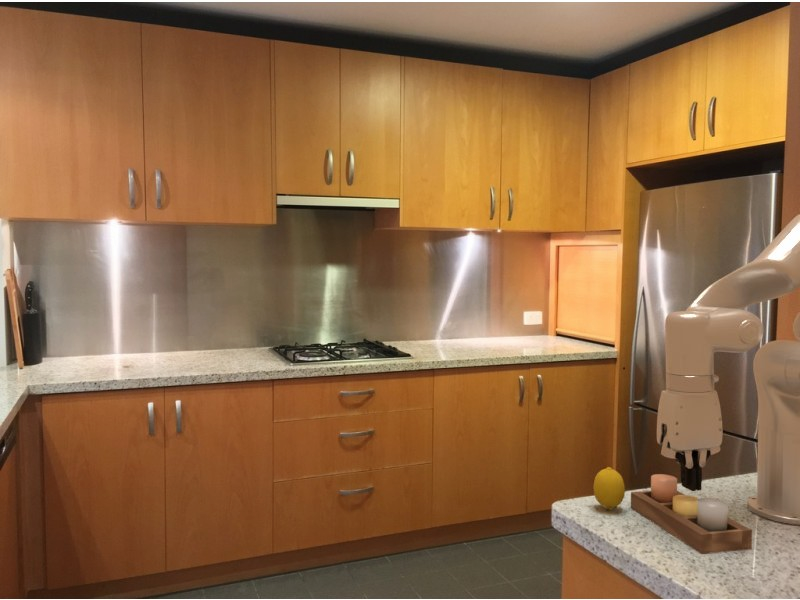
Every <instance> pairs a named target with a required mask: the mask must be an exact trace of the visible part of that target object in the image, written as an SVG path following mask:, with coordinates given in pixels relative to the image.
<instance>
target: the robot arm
mask: <svg viewBox="0 0 800 600" xmlns="http://www.w3.org/2000/svg"><path fill="white" fill-rule="evenodd" d="M799 288H800V213H799V214H798V215H795V217H793V219H792V220H791V221H790V222H788V224H786V226H785V227H784V228H783V229H782V230H781V231H780V232H779V233H778V234H777V235H776V236H775V237H774V239H772V241H771V242H770V243H769V244H768V245H767V246H766V247H765V248H764V249H763V251H761V253H759V255H758V256H756V258H754V260H752V261H750V262H749V263H747V264H745V265H743V266H741V267H739V268H737V269H735V270H734V271H732V272H730V273H728V274H726V275H725V276H723V277H722V278H720V279H718V280H716V281H715V282H713V283H712V284H710V285H708V287H706V288H705V289H704V290H703V291H702V292H701V293H700V294H699V295H698V296H697V297H696V298H695V299H694V300H693V301H692V302H691V303H690V305H689V306H688V307H687V308H686V310H682V311H673V312H672V311H671V312H670V313H668V314H667V315H666V317H665V320H664V321H665V324H664V327H665V328H664V335H665V338H664V340H665V341H664V343H665V387H666V388H665V390H663V389H662V390H661V393H660V397H659V402H658V406H657V407H658V409H657V416H656V417H657V418H656V441H657V444H658V445H660V446H661V450H660V451H661V452H660V455H661V456H663V457H665V458H668V459H674V460H675V461H676V462H677V464H678V465H679V466H680V482H681V483H680V484H681V486H682V487H683V488H685V489H687V490H689V491H691V492H696V491H698V492H700V491H702V482H703V470H702V469H703V468H704V467H705V466H706V461H708V460H707V459H709V457H710V456H712V455H715V454H718V453H719V452H720V451H721V445H722V444H723V434H724V432H723V430H724V429H723V418H722V410H721V403H720V398H719V394H718V392H717V390H715V383H719V380H720V377H719V375H717V374H715V366H714V363H715V359H714V358H715V355H714V354H715V353H717V352H718V353H719V352H721V353H722V352H724V353H732V354H733V353H734V354H736V353H738V354H739V353H740V354H741V353H746V352H750V350H753V349H754V348H755V347H757V346H758V345H760V343H761V341H762V339H763V337H764V324H763V322H762V321H761V319H760V318H759V317H758V316H757V315H756V314H754V313H753V312H751V311H749V310H746V309H745V308H747V307H749V306H753V305H755V304H758V303H762V302H767V301H771V300H774V299H778V298H781V297H784V296H787V295H789V294H791V293H793V292H795V291H797V290H798V289H799ZM792 332H793V335H794V337H795V338H796V339H797V340H792V339H777V340H772V341H769V342H766V343H765V344H763V345H761V346H760V347H759V348H758V349H757V351H756V353H755V355H754V357H753V361H752V363H753V364H752V367H753V369H752V370H753V376H754V380H755V386H756V392H757V399H758V401H757V402H758V403H757V404H758V426H757V427H758V428H757V469H756V470H757V472H756V473H757V478H756V481H757V482H756V495H754V496H751V497H749V498H748V499H747V502H746V503H747V508H748V510H749V511H751V512H752V513H754V514H756V515H757V516H760V517H762V518H763V519H764V518H765V519H767V520H771V521H775V522H779V523H784V524H791V525H800V311H799V312H798V313H797V315H796V317H795V319H794V321H793V324H792Z"/></svg>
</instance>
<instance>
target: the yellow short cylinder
mask: <svg viewBox="0 0 800 600" xmlns="http://www.w3.org/2000/svg"><path fill="white" fill-rule="evenodd" d="M698 499H699V498H698V497H695V496H693V495H688V494H685V495H675V496H673V511H674V512H676V513H677V514H679V515H681V516H682V517H686V516H697V503H698Z"/></svg>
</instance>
